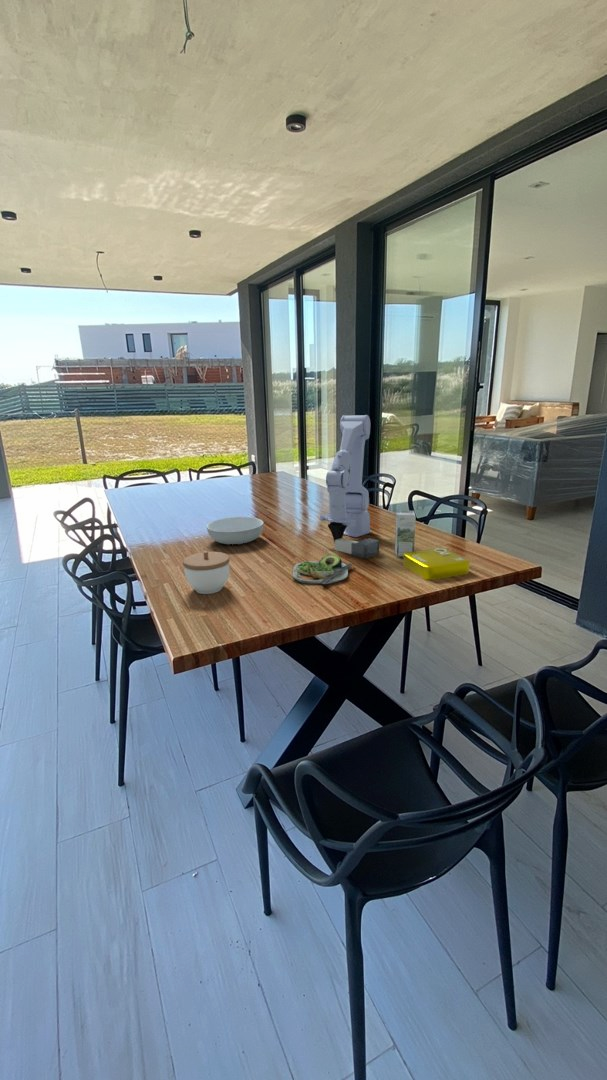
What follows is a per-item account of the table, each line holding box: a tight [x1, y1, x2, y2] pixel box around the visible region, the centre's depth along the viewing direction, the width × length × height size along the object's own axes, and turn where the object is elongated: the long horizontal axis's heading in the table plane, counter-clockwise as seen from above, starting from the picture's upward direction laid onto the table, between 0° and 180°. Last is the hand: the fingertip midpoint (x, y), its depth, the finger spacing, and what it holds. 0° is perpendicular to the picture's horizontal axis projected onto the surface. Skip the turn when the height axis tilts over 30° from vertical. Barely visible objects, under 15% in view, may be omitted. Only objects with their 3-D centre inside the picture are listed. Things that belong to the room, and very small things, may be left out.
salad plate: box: [292, 554, 353, 585], centre depth 145 cm, size 19×18×5 cm
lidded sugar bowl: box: [182, 550, 230, 595], centre depth 136 cm, size 13×13×11 cm
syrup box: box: [394, 510, 417, 558], centre depth 160 cm, size 6×6×14 cm
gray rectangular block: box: [334, 537, 358, 555], centre depth 166 cm, size 4×12×4 cm, turn 45°
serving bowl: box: [206, 516, 264, 546], centre depth 182 cm, size 21×21×7 cm
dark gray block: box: [350, 537, 380, 560], centre depth 163 cm, size 7×6×5 cm
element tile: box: [402, 547, 470, 581], centre depth 148 cm, size 15×15×5 cm
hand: (337, 543), depth 172 cm, fingers closed
